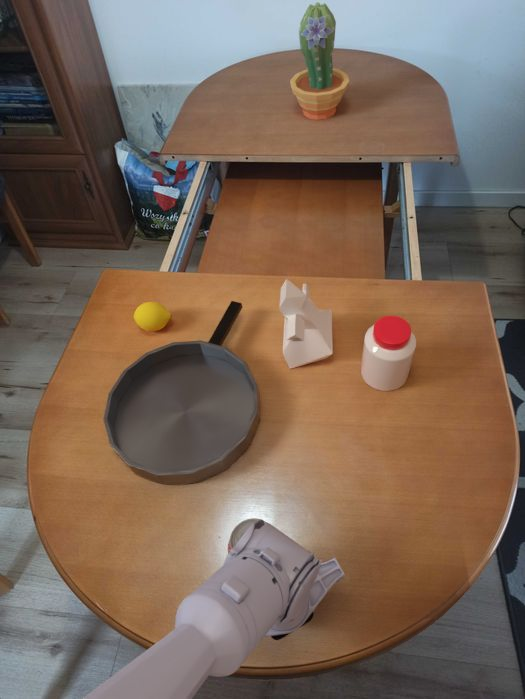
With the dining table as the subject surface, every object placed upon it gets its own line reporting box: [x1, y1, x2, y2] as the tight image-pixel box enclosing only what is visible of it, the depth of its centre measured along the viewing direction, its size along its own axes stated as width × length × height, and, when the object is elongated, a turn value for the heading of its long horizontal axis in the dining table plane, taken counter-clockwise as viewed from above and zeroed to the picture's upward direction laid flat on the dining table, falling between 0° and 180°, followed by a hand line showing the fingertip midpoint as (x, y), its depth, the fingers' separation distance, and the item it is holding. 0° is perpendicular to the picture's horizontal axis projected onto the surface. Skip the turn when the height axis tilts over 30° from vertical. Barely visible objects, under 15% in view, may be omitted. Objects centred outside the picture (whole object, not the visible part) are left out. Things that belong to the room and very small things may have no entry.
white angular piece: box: [278, 278, 334, 369], centre depth 82 cm, size 8×14×14 cm, turn 176°
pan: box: [102, 300, 261, 486], centre depth 81 cm, size 34×24×4 cm
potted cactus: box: [289, 1, 351, 121], centre depth 124 cm, size 15×15×25 cm
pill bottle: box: [359, 315, 417, 392], centre depth 78 cm, size 8×8×11 cm
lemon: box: [133, 301, 172, 332], centre depth 90 cm, size 7×5×5 cm
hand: (285, 615), depth 60 cm, fingers closed, pressing on beverage can
